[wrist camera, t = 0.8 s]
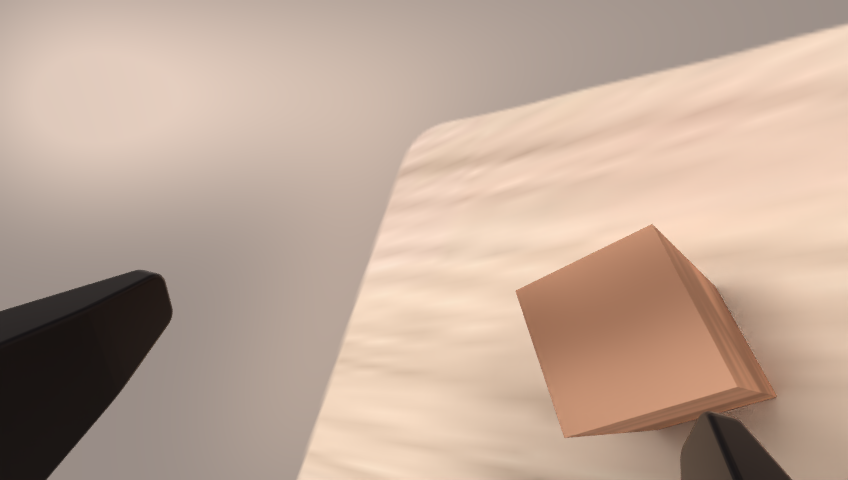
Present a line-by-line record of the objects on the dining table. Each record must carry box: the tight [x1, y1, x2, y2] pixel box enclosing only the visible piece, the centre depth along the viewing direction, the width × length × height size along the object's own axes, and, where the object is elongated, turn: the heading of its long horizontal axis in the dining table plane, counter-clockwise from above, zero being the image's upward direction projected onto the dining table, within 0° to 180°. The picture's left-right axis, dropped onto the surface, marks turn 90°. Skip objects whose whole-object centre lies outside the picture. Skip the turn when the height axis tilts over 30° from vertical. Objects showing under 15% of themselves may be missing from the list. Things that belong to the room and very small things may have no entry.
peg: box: [516, 224, 777, 438], centre depth 17 cm, size 4×4×9 cm
